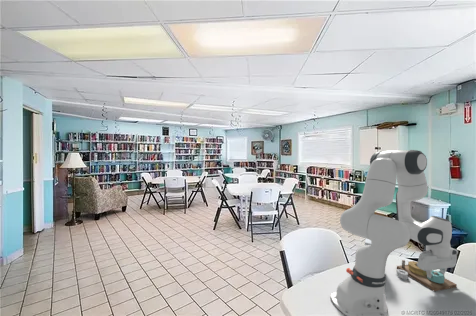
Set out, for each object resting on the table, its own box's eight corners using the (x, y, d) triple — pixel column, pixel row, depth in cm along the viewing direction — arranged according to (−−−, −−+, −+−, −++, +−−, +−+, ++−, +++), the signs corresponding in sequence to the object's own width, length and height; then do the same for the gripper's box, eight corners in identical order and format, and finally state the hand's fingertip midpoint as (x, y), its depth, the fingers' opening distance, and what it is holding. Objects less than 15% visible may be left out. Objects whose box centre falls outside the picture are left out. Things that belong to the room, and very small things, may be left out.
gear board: (434, 291, 103) (435, 280, 103) (396, 268, 121) (397, 259, 121) (456, 287, 106) (457, 276, 106) (416, 265, 125) (417, 256, 124)
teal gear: (437, 284, 105) (437, 278, 105) (424, 276, 111) (424, 270, 111) (446, 282, 107) (447, 276, 106) (433, 275, 112) (433, 269, 112)
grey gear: (404, 280, 111) (405, 275, 111) (394, 275, 115) (395, 270, 115) (409, 277, 113) (409, 273, 113) (399, 273, 117) (399, 268, 117)
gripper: (428, 254, 102) (426, 283, 103) (460, 250, 107) (458, 277, 108) (414, 248, 109) (412, 275, 109) (445, 244, 113) (443, 270, 114)
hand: (435, 276), depth 109 cm, fingers closed on teal gear, 6 cm apart
